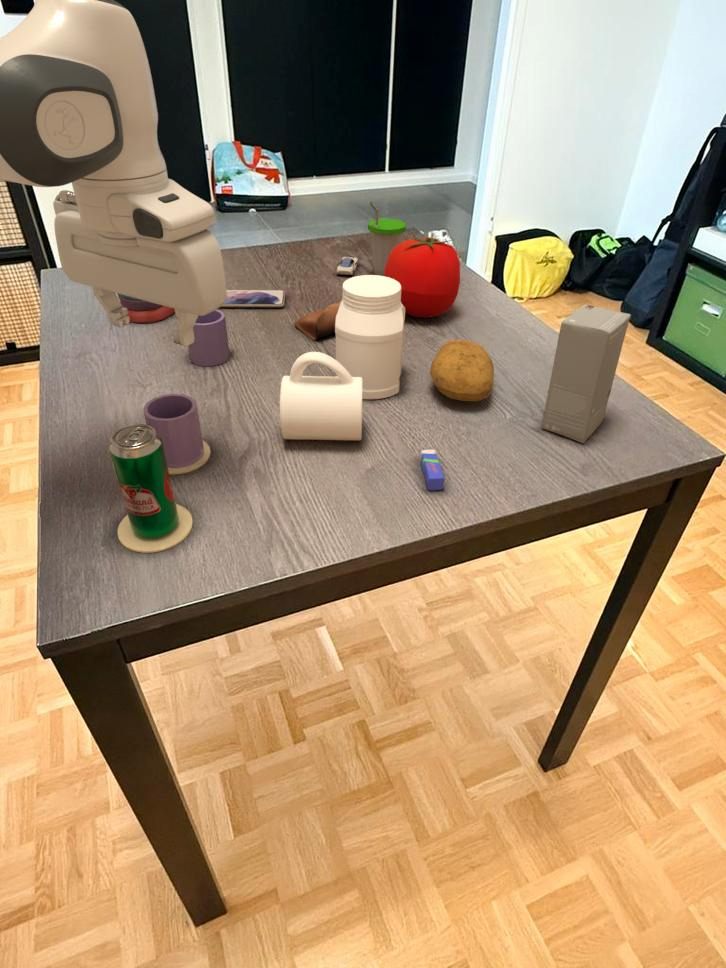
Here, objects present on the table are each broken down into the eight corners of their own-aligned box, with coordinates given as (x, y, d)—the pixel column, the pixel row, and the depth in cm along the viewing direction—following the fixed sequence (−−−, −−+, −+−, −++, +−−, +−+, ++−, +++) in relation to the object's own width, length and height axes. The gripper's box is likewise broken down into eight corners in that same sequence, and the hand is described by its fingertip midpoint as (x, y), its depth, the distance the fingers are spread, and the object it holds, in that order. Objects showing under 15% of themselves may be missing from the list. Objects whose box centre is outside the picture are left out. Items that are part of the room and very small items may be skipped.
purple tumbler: (155, 472, 76) (144, 424, 72) (152, 444, 81) (142, 397, 77) (207, 463, 78) (199, 416, 74) (201, 436, 82) (193, 390, 78)
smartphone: (283, 304, 116) (202, 304, 115) (284, 308, 117) (203, 308, 116) (285, 289, 121) (207, 289, 121) (285, 293, 122) (208, 293, 121)
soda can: (122, 535, 67) (95, 444, 60) (148, 506, 71) (126, 418, 64) (164, 546, 66) (141, 454, 59) (188, 516, 70) (169, 427, 63)
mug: (361, 452, 81) (363, 370, 73) (281, 451, 81) (275, 368, 73) (361, 418, 87) (363, 339, 80) (287, 417, 87) (283, 337, 80)
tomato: (458, 330, 111) (467, 252, 102) (381, 326, 111) (384, 248, 103) (453, 296, 123) (461, 224, 115) (383, 293, 124) (387, 221, 115)
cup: (401, 268, 135) (405, 194, 126) (405, 281, 129) (410, 204, 120) (365, 268, 135) (367, 193, 125) (367, 281, 129) (369, 204, 119)
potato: (424, 409, 90) (428, 366, 85) (432, 368, 100) (436, 327, 95) (489, 416, 89) (496, 373, 84) (490, 374, 98) (497, 333, 94)
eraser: (434, 461, 80) (436, 448, 79) (442, 490, 75) (444, 477, 74) (419, 462, 80) (420, 449, 78) (426, 491, 75) (428, 478, 74)
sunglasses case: (369, 300, 119) (381, 275, 114) (388, 328, 118) (402, 305, 112) (290, 323, 110) (300, 298, 105) (310, 354, 109) (321, 330, 103)
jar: (397, 402, 91) (404, 303, 82) (332, 397, 92) (332, 299, 82) (402, 365, 100) (408, 272, 91) (343, 361, 101) (343, 268, 91)
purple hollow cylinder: (193, 368, 98) (186, 326, 93) (188, 351, 102) (181, 310, 98) (232, 363, 99) (227, 321, 95) (225, 346, 104) (220, 306, 100)
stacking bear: (182, 301, 118) (165, 202, 107) (173, 323, 110) (154, 219, 99) (124, 301, 118) (101, 201, 106) (111, 324, 110) (85, 218, 99)
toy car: (361, 259, 139) (361, 247, 137) (352, 278, 130) (352, 265, 128) (345, 257, 139) (345, 246, 138) (335, 276, 130) (335, 264, 129)
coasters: (119, 560, 65) (119, 558, 65) (111, 449, 80) (111, 447, 80) (234, 535, 68) (234, 533, 68) (205, 433, 84) (205, 431, 83)
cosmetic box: (583, 445, 83) (615, 335, 73) (534, 427, 87) (558, 319, 77) (605, 419, 89) (638, 313, 79) (558, 402, 92) (584, 299, 82)
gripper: (24, 193, 62) (62, 323, 71) (183, 226, 55) (204, 366, 64) (74, 181, 67) (104, 304, 75) (227, 210, 60) (241, 343, 68)
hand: (151, 333), depth 70 cm, fingers open, 8 cm apart
